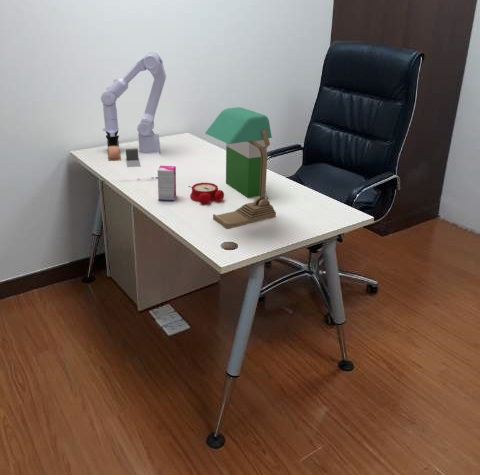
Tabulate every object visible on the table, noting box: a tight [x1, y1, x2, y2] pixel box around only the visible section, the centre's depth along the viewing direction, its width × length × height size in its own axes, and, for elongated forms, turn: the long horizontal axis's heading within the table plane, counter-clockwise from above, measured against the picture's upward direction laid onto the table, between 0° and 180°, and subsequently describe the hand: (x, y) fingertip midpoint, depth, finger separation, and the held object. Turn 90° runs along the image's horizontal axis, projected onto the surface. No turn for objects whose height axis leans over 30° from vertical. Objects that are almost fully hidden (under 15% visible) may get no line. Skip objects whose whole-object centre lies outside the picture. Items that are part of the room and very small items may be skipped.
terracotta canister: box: [107, 145, 121, 160], centre depth 214 cm, size 4×4×5 cm
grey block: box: [125, 148, 141, 168], centre depth 210 cm, size 6×12×6 cm, turn 15°
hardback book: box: [225, 139, 268, 199], centre depth 183 cm, size 18×7×24 cm, turn 28°
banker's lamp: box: [204, 107, 277, 229], centre depth 155 cm, size 16×21×35 cm
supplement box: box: [157, 165, 177, 202], centre depth 175 cm, size 6×6×12 cm
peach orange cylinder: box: [106, 139, 122, 162], centre depth 219 cm, size 6×18×6 cm, turn 15°
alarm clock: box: [188, 182, 225, 205], centre depth 177 cm, size 11×6×15 cm
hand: (113, 148), depth 226 cm, fingers open, 7 cm apart
